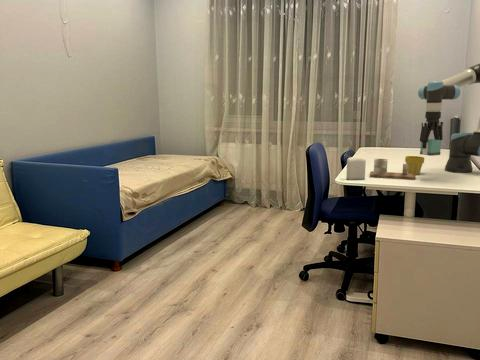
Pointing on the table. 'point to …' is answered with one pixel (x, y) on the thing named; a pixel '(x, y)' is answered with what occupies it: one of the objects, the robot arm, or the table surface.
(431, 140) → the teal sleeve
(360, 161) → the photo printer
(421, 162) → the plant pot
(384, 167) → the peg board
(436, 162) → the table surface
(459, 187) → the table surface
